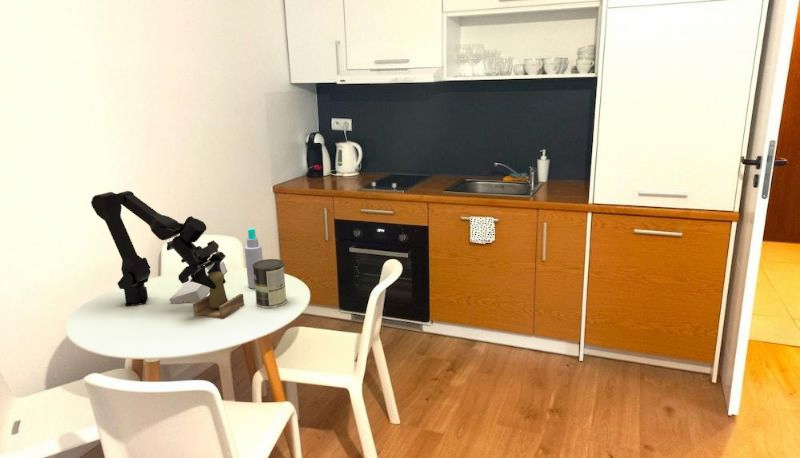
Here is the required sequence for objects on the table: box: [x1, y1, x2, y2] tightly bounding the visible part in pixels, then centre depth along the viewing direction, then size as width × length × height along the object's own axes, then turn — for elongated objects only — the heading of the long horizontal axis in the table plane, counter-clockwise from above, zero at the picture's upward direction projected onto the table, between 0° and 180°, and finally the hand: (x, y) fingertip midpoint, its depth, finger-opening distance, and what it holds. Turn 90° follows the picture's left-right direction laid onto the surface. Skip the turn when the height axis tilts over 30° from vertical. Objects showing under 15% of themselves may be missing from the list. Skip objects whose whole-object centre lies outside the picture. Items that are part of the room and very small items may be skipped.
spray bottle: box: [244, 227, 264, 290], centre depth 206 cm, size 6×6×22 cm
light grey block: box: [169, 261, 228, 304], centre depth 211 cm, size 34×5×10 cm
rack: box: [192, 293, 245, 320], centre depth 187 cm, size 11×12×4 cm
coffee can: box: [252, 258, 288, 309], centre depth 191 cm, size 10×10×14 cm
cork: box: [208, 272, 228, 308], centre depth 185 cm, size 6×6×11 cm
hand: (220, 285), depth 185 cm, fingers closed on cork, 5 cm apart
